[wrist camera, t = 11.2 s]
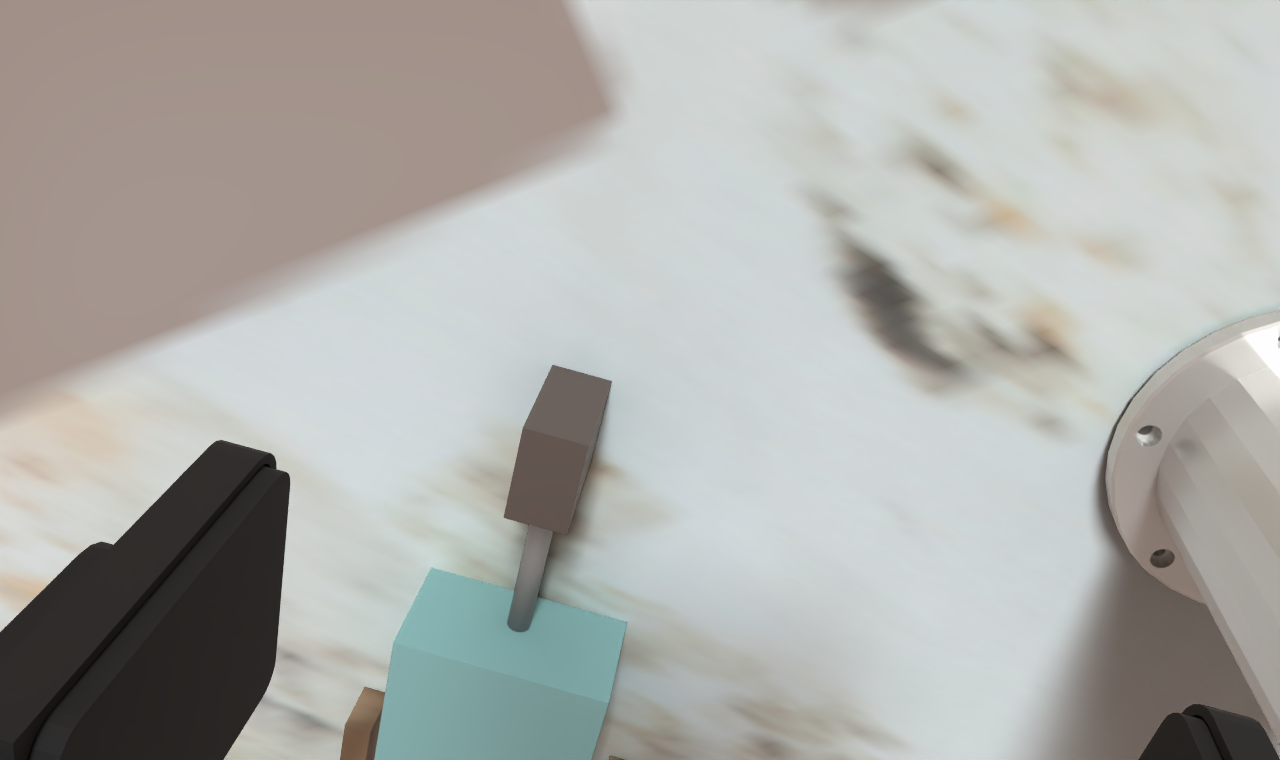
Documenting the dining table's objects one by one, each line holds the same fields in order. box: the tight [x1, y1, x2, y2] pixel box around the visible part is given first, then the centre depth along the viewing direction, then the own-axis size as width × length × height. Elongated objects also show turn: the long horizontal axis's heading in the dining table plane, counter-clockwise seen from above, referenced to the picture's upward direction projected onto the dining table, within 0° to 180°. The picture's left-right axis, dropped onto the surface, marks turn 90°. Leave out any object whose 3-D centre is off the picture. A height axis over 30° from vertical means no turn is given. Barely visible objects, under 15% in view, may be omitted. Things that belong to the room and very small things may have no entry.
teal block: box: [374, 365, 627, 760], centre depth 44 cm, size 9×18×5 cm, turn 166°
